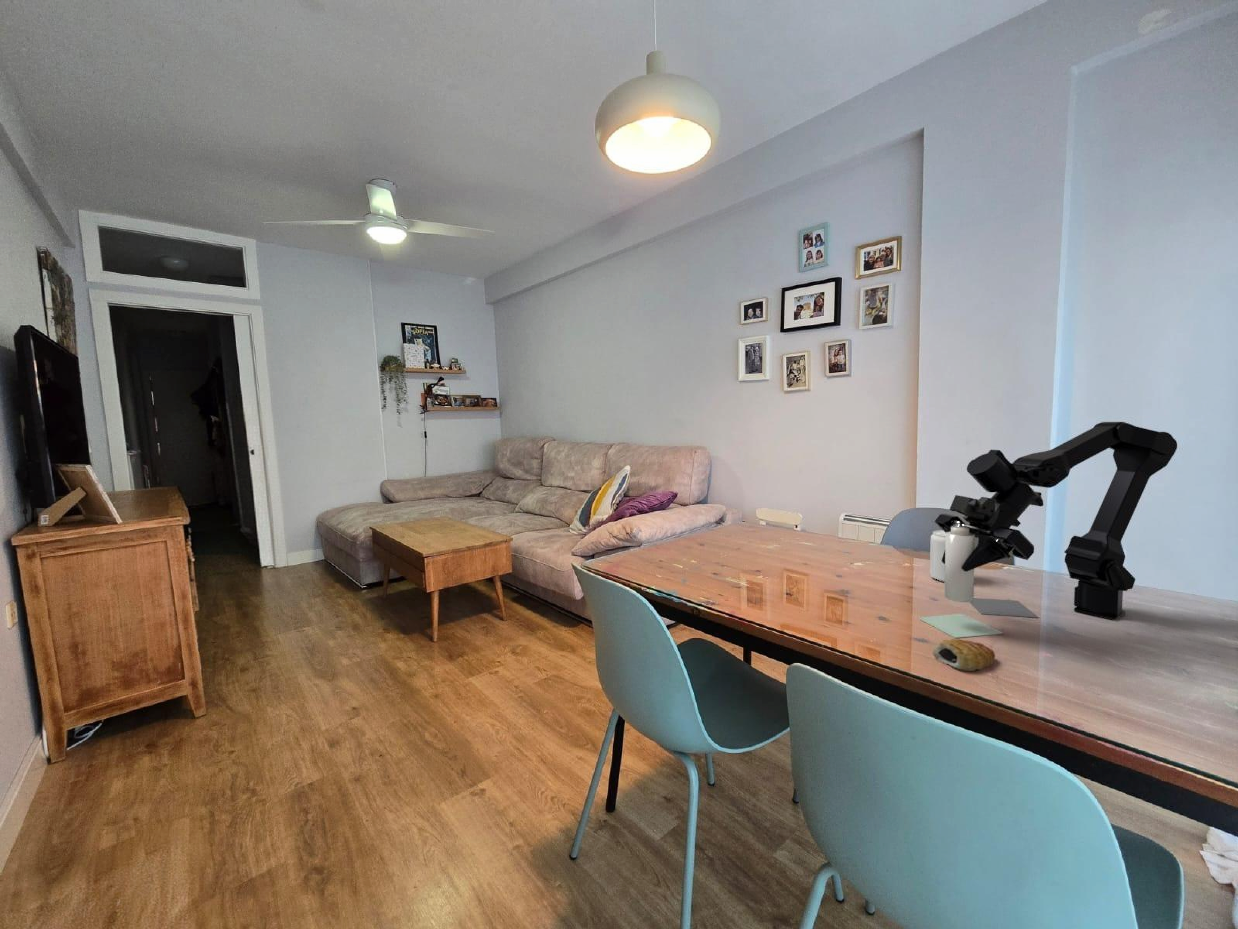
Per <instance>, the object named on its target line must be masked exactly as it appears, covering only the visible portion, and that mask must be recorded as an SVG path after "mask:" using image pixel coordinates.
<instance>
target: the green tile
mask: <svg viewBox="0 0 1238 929" xmlns="http://www.w3.org/2000/svg"><path fill="white" fill-rule="evenodd" d="M917 619H918V620H920V621H923V622H924V623H926V624H928V625H929V624H930V625H929V626H932V627H933V626H934V628H935V629H937V630H939V631H941V632H943V633H945V634H947V635H949V637H952V638H953V639H961V638H962V639H963V638H973V637H983V636H993V635H1002V634H1004V632H1003V631H1000V630H998V629H996V628H993V627H992V626H989V625H987V624H985V623H982V622H981V621H978V620H977V619H974V618H972V617H970V616H968V615H965V614H963V613H957V614H945V615H933V616H921V617H918V618H917Z"/></svg>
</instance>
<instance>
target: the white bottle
mask: <svg viewBox="0 0 1238 929" xmlns="http://www.w3.org/2000/svg"><path fill="white" fill-rule="evenodd" d="M975 538H976V537H975V535H974V534H972V533H969V528H966V527H951V532H946V535H945V582H944V598H946V599H947V600H949V601H952V602H959V603H970V602H972V601H973V600H974V598H975V595H974V594H975V591H974V590H975V568H974V569H972V570H969V571H967V572H966V571H964V570H963V569H962V566H963V564H964V562H965V561H966V560H967V558H968V557H969V556H970V555H971V553H972V552H973V551H974V549H975V548H976V547H975V542H976V541H975V540H976V539H975Z"/></svg>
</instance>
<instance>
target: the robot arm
mask: <svg viewBox="0 0 1238 929" xmlns="http://www.w3.org/2000/svg"><path fill="white" fill-rule="evenodd" d="M1107 449H1110V450H1113V453H1112V457H1113V460H1114V463H1115V466H1116V467H1115V468H1116V470H1115V473H1114V475H1113V477H1112V479H1111V481H1110V484H1109V487H1108V489H1107V491H1106V493H1105V495H1104V497H1103V500H1102V502H1101V505H1100V506H1099V508H1098V511H1097V513H1096V515H1095V517H1094V520H1093V522H1092V523H1091V526H1090V528H1089V531H1088V532H1086V533H1085V534H1084V535H1082V536H1079V535H1073V536H1072V537H1071V538H1070V541H1069V544H1068V546H1067V548H1066V549H1065V550H1064V552H1063V553H1065V555H1064V563H1065V565H1066V568H1067V571H1068V572H1067V573H1068V574H1069V578H1070V579H1073V580H1076V581H1077V580H1078V581H1077V585H1076V586H1074V595H1073V596H1074V597H1073V598H1074V599H1073V605H1074V606H1075V607H1074V608H1073V611H1074V612H1077V613H1082V614H1087V615H1091V616H1095V617H1099V616H1102V617H1101V618H1103V617H1105V618H1104V619H1107V620H1112V619H1116V620H1118V619H1119V618H1120V617H1122V616H1124V615H1125V614H1126V611H1125V610H1123V600H1124V598H1123V595H1124V592H1128V591H1129V590H1132V589H1133V588H1134V585H1135V582H1136V577H1135V576H1134V575H1132V573H1131V572H1129V571H1128V569H1127V568H1126V567H1125V565H1124V563H1125V560H1126V554H1125V550H1124V548H1123V545H1122V539H1123V537H1124V535H1125V533H1126V530H1127V528H1128V526H1129V524H1130V522H1131V520H1132V518H1133V515H1134V513H1135V510H1136V508H1137V506H1138V503H1139V502H1140V499H1141V497H1142V495H1143V493H1144V491H1145V489H1146V486H1147V485H1148V482H1149V480H1150V478H1151V477H1152V476H1153V475H1155V474H1156V473H1158V472H1159V471H1161V470H1162V469H1164V468H1165V467H1167V465H1168V464H1169V462H1170V461H1171V459H1172V458H1173V457H1174V455H1175V454H1176V452H1177V449H1178V443H1177V440H1176V439H1175V438H1174V437H1173V436H1172V434H1170V432H1167V431H1157V430H1153V429H1149V428H1145V427H1140V426H1136V425H1133V424H1130V423H1128V422H1125V421H1101V422H1099V423H1096V424H1095V425H1094V426H1093V427H1092V428H1090V429H1087V430H1086V431H1083V432H1082V433H1081V434H1079V435H1076V436H1075V437H1072V438H1071V439H1069V440H1067V441H1065V442H1063V443H1061V444H1059V445H1058V446H1056V447H1054V448H1052V449H1048V450H1044V451H1040V452H1034V453H1033V452H1032V453H1029V454H1026V455H1023V456H1020V457H1018V458H1017V459H1015V460H1014V461H1013V462H1010V461H1009V460H1008V459H1007V457H1005V454H1004V453H1003V451H1001V450H999V449H989V451H988V452H987V453H984V454H980V455H979V456H977V457H976V458H974V459H971V460H970V461H969V462H968V464H967V465H966V472H967V473H968V474H969V475H970V476H971V477H972V478H973V479H974V480H975V481H976V482H977V483H978V484H979V486H981V487H982V488H983V489H984V490H985V491H986V492H988V493H994V494H993V495H992V496H991V497H987V496H981V497H980V498H979V499H976V498H973V497H969V496H963V495H957V494H955V495H954V498H953V500H952V503H951V505H950V508H949V511H951V512H956V513H959V514H961V515H963V517H962V519H963V520H965V522H967V523H969V524H966V523H965V522H964V521H963V520H962V519H961V518H960V517H959V516H957V515H953V514H947V513H940V514H939V515H938V516H937V518H936V519H935V520H934V523H935V524H937V526H938V527H939V528H940V530H943V531H944V532H945V533H946V532H951V527H966V528H969V533H972V534H974V535H975V538H977V539H978V542H977V546H976V547H975V549H974V551H973V552H972V553H971V555H970V556H969V557H968V558H967V560H966V561H965V562H964V564H963V566H962V569H963V570H964V571H966V572H967V571H969V570H972V569H974V570H975V569H977V568H979V567H982V566H985V565H987V564H990V563H991V564H992V563H993V562H995V561H1000V560H1003V559H1010V558H1011V557H1012V556H1011V555H1010V553H1011V552H1012V555H1013V556H1014V557H1016V558H1019V559H1022V560H1026V561H1028V560H1029V559H1030V558H1031V557H1032V556H1033V554H1034V553H1035V546H1034V544H1033V543H1032V542H1031V541H1030V540H1029V539H1028V537H1026V536H1025V534H1023V533H1022V531H1021V530H1019V529H1015V528H1018V527H1019V526H1020V525H1021V524H1022V523H1021V522H1020V521H1019V520H1018V519H1019V518H1020V517H1021V516H1022V514H1023V513H1024V512H1025V511H1026V510H1027V509H1028V507H1030V506H1036V507H1044V500H1043V497H1042V492H1040V491H1035V490H1034V489H1033V488H1032V487H1038V488H1039V487H1040V488H1047V489H1048V488H1053V487H1055V486H1057V485H1058V484H1060V483H1061V482H1063V480H1065V479H1066V478H1067V477H1069V474H1070V472H1071V469H1073V468H1074V467H1076V466H1077V465H1080V464H1081V463H1084V462H1085V461H1087V460H1089V459H1091V458H1092V457H1094V456H1096V455H1099V454H1100V453H1102V452H1104V451H1106V450H1107ZM1031 486H1032V487H1031ZM1011 527H1015V528H1011ZM942 562H943V563H944V564H945V551H944V554H943V557H942ZM1124 613H1125V614H1124ZM1121 615H1122V616H1121ZM1118 617H1119V618H1118ZM1117 618H1118V619H1117Z"/></svg>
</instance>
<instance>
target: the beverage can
mask: <svg viewBox="0 0 1238 929" xmlns="http://www.w3.org/2000/svg"><path fill="white" fill-rule="evenodd" d="M945 535H946V533H945V532H944V531H943V530H942V529H940V530H933V531H932V535H931V536H930V554H929V556H930V557H929V558H930V559H929V560H930V562H929V563H930V564H929V565H930V567H929V570H930V572H929V574H930V577H931V578H932V579H935V580H936V579H937V580H936V581H938V580H939V581H938V582H942V583H945V564H944V563H943V562H942V557H943V554H944V551H945Z"/></svg>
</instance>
